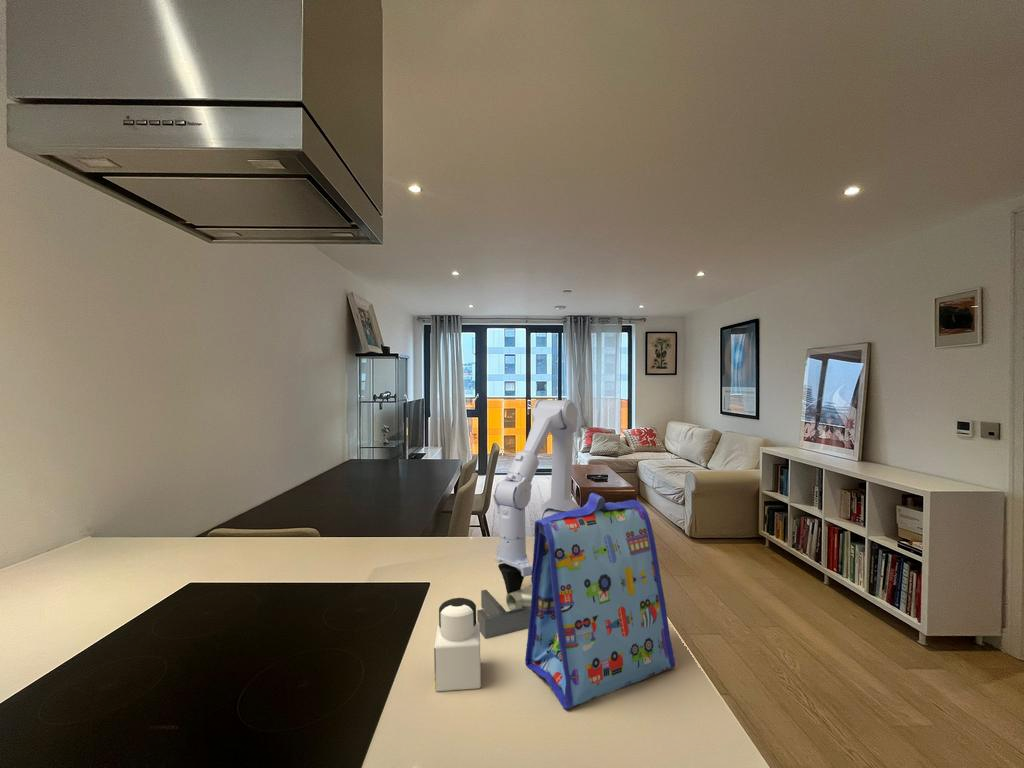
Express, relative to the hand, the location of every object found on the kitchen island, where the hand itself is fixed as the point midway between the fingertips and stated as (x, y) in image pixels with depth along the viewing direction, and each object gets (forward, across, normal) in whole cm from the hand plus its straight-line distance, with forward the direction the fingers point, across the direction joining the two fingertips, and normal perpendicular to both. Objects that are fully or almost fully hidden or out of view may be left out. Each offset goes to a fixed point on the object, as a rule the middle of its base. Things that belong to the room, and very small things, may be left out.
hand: (513, 597), depth 101 cm
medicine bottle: (+1, +20, -19) cm, 28 cm away
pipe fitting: (+1, +4, +2) cm, 5 cm away
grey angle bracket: (+1, +5, 0) cm, 5 cm away
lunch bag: (+1, +28, +3) cm, 28 cm away
